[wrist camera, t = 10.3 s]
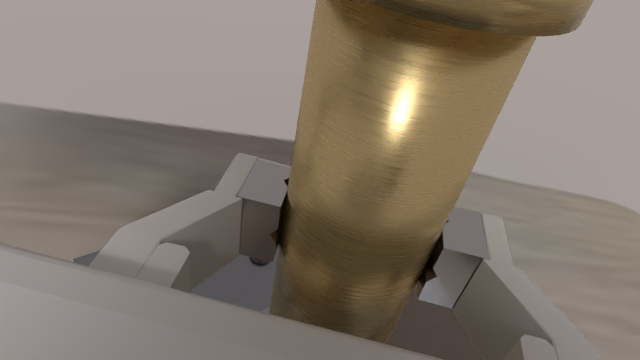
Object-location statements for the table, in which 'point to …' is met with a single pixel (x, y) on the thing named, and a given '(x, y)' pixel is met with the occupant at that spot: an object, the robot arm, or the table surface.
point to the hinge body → (233, 281)
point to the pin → (392, 145)
